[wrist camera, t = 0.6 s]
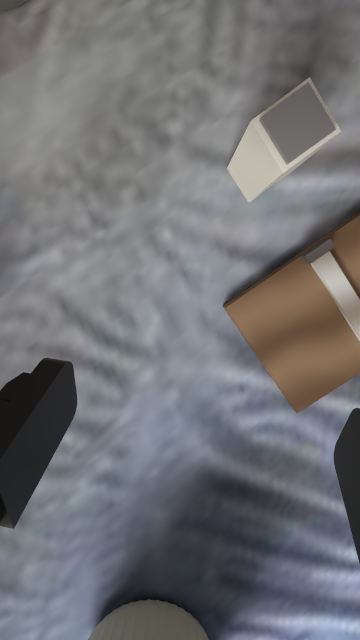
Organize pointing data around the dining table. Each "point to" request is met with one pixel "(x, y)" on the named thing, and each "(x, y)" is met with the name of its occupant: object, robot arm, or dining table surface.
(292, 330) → the rail board
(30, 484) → the robot arm
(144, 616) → the canister
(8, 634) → the dining table surface
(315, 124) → the rail module
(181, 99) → the dining table surface
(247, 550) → the dining table surface
